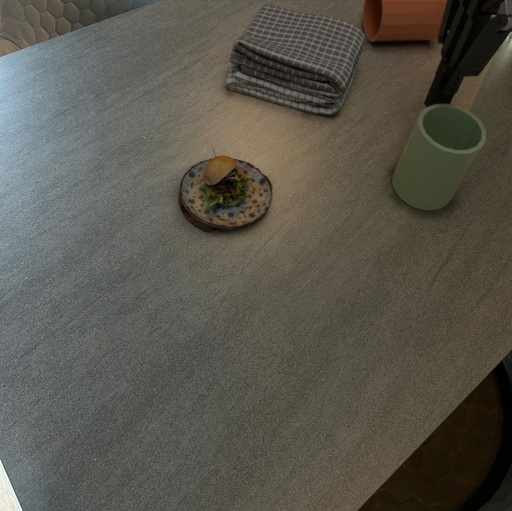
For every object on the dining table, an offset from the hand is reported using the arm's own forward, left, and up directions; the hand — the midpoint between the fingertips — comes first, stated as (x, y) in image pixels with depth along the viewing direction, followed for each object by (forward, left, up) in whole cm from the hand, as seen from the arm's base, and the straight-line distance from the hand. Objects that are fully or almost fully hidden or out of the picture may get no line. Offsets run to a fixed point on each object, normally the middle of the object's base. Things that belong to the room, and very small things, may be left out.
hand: (435, 106), depth 79 cm
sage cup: (0, +5, -10) cm, 11 cm away
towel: (+13, -19, -10) cm, 26 cm away
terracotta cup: (-13, -30, -6) cm, 33 cm away
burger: (+27, +5, -10) cm, 29 cm away
